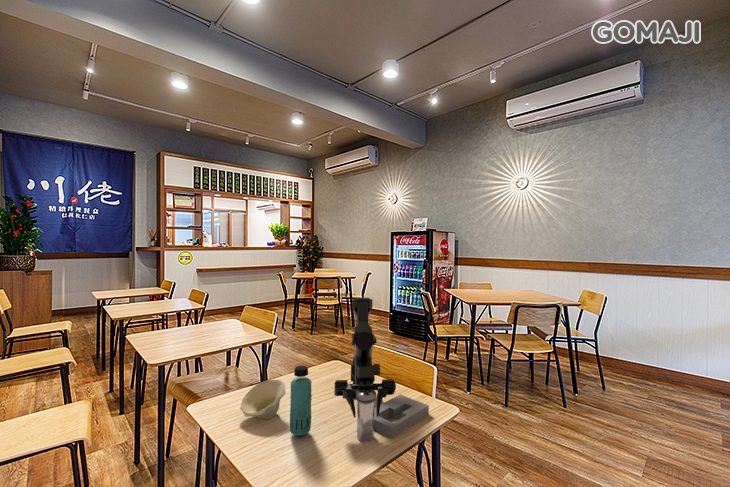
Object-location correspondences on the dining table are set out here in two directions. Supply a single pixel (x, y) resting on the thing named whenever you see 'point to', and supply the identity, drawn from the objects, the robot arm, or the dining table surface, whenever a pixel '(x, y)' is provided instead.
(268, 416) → the bowl
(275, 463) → the dining table surface
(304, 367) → the beverage bottle
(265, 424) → the dining table surface
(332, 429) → the dining table surface
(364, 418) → the salt shaker
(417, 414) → the keyhole plate
